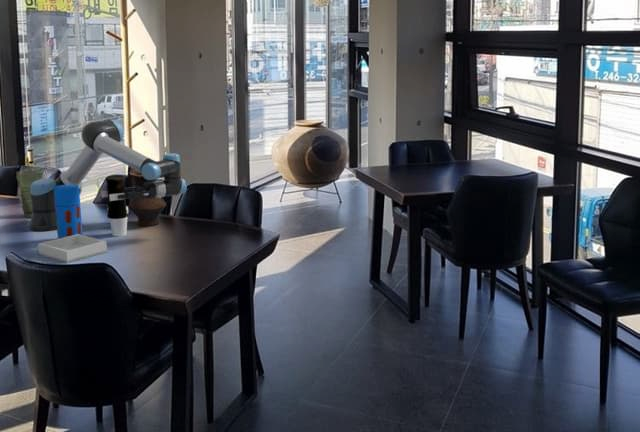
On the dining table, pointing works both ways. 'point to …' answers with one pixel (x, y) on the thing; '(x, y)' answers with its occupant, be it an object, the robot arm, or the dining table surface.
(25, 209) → the green ribbed vase
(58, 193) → the thermos
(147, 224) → the jug
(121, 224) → the foam cup
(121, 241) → the dining table surface
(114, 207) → the container
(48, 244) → the white bin
